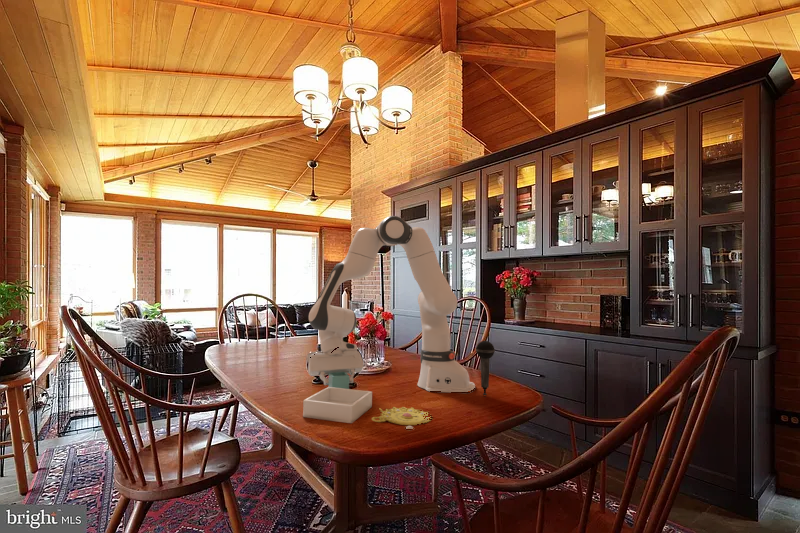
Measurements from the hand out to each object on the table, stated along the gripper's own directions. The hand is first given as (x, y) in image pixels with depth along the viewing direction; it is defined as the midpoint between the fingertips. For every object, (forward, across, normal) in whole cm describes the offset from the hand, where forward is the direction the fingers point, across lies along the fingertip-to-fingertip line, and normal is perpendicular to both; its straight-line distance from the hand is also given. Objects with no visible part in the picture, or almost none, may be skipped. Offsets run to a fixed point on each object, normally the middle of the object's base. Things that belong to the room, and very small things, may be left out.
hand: (339, 383), depth 144 cm
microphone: (+16, +49, -10) cm, 53 cm away
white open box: (+15, -4, -9) cm, 18 cm away
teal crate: (+3, 0, +4) cm, 4 cm away
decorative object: (+24, +12, -16) cm, 31 cm away
